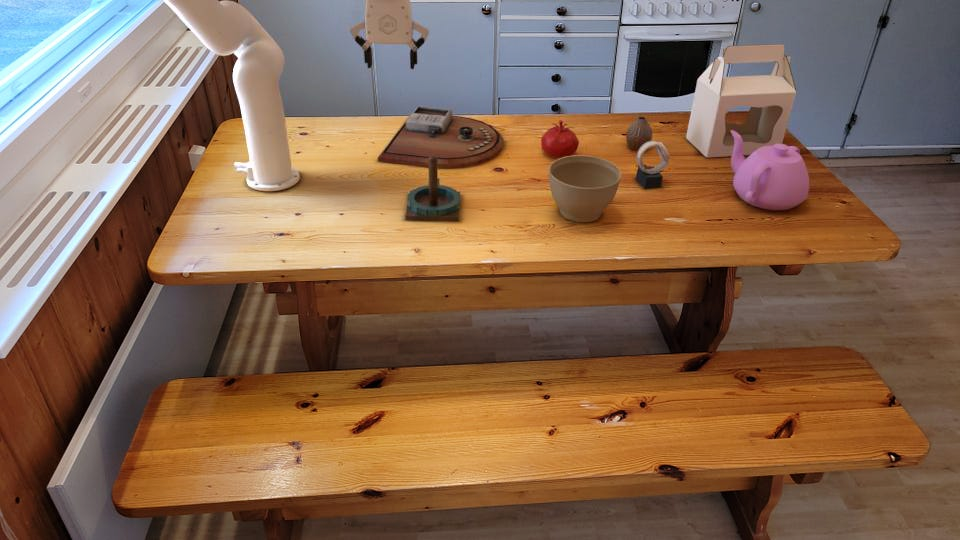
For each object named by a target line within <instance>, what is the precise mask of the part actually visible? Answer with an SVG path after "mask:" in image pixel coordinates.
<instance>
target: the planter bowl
mask: <svg viewBox="0 0 960 540" xmlns="http://www.w3.org/2000/svg"><path fill="white" fill-rule="evenodd" d="M548 175H549V176H548V178H549V179H548V182H549V190H550V194H551V196H552V198H553V201H554V202H555V204H556V205H557V207H558V208H559V212H560V214H561V216H562V217H563V218H565V219H567V220H570V221H572V222H578V223H591V222H594V221H596V220H598V219H599V218H600V217H601V216H602V213H603V212H604V211H605V210H606V209H607V208H608V207H609V206H610V205H611V203H612V202H613V200H614V199H615V196H616V195H617V192H618V189H619V185H620V182H621V180H622V171H621V169H620V168H619V167H618V165H616V164H615V163H614V162H611V161H609V160H607V159H605V158H601V157H598V156H592V155H586V154H577V155H574V154H573V155H571V156H566V157H562V158H556V160H554V161H552V162H551V163H550V165H549V166H548Z"/></svg>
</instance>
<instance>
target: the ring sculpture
mask: <svg viewBox="0 0 960 540" xmlns="http://www.w3.org/2000/svg"><path fill="white" fill-rule="evenodd" d="M652 147H655V150H656V153H657V154H658V155H659V157H660V159H661V161H660V162H659V163H658V164H657V165H656V166H645V165H644V160H643V155H644V153H645V152H646V151H647V150H649V149H650V148H652ZM670 159H671V156H670V153H669V150H668V149H667V148H666V146H665V145H664V143H663V142H661V141H659V142H658V141H657V140H651V141H649V142H646V143H645V144H643V145H642V146H641V147H640V149H639V150H638V151H637V153H636V163H637V165H638V167H637V169H636V175H635V180H636V181H637V183H639V185H640V186H641V187H642V188H643V189H644V190H649V189H650V190H651V189H660V188H661V187H662V184H663V179H664V176H663V175H662V174H661V172H662V171H663V170H664V169H665V168H666V167H667V166H668V165H669V160H670Z"/></svg>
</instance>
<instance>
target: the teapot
mask: <svg viewBox="0 0 960 540" xmlns="http://www.w3.org/2000/svg"><path fill="white" fill-rule="evenodd" d="M730 132H731V133H732V135H733V137H734V149H733V153H732V156H730V157H731V158H730V167H731V171H732V172H733V174H734V176H733V180H732V185H733V188H734V190H735V192H736V194H737V195H738V196H739V198H740V199H741V200H743V201H744V202H746V203H747V204H750V205H751V206H754V207H757V208H760V209H765V210H770V211H785V210H786V211H787V210H790V209H794V208H795V207H797V206H798V205H800V204H802V203H803V202H804V201H806V199H807V198H808V196H809V191H810V177H809V171H808V169H807V166H806V163H805V160H804V159H803V156H802V155H801V154H800V153H801V151H800V149H799V147H797V146H795V145H790V146H789V145H787V144H785V143H782V144H774V146H763V147H760V148H758V149H757V150H756V151H754V152H753V153H752V154H751V155H748V157H747V158H745V155H743V140H742V137H741V136H740V135H739V134H738V133H737V132H735V131H734V130H730Z"/></svg>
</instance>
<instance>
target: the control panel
mask: <svg viewBox="0 0 960 540" xmlns="http://www.w3.org/2000/svg"><path fill="white" fill-rule="evenodd" d="M503 145H504V139H503V137H502V135H501V133H500V132H499V131H498V130H497V129H495V128H494V127H493V126H492V125H490V124H489V123H487V122H485V121H483V120H479V119H475V118H472V117H466V116H459V115H453V110H452V109H448V108H438V107H428V106H421V105H417V106H416V108H415V109H414V110H413V111H412V112H411V113H410V114H409V116H408V117H407V118H406V119H405V121H404V122H403V123H402V125H401V126H400V128H399V129H398V130H397V131H396V132H395V134H394V136H392V138H391V139H390V141H389V142H388V143H387V144H386V146H385V147H384V149H383V150H382V151H381V153H380V154H379V155H378V157H377V162H379V163H387V164H397V165H405V166H414V167H420V168H421V167H423V168H429V162H428V159H429V157H430V156H431V155H435V156H436V157H437V165H438V169H448V170H449V169H463V168H468V167H474V166H478V165H481V164H484V163H487V162H489V161H491V160H493V159H494V158H496V157H497V156H498V155H499V154H500V153H501V152H502V150H503Z"/></svg>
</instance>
